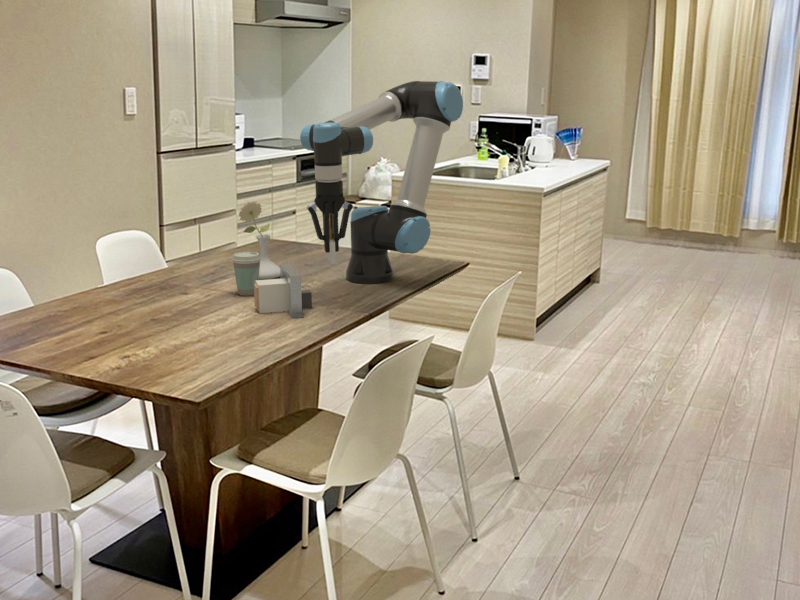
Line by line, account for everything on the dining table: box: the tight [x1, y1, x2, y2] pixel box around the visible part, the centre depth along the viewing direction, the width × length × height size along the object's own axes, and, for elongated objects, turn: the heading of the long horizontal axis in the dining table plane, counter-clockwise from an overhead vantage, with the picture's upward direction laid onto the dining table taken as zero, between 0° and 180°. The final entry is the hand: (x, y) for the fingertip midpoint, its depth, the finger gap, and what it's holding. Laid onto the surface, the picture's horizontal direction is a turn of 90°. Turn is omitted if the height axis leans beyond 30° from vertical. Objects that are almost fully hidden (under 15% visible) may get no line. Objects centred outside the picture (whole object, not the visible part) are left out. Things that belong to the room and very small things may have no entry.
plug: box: [253, 278, 313, 314], centre depth 248 cm, size 16×6×8 cm, turn 107°
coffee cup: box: [231, 251, 261, 297], centre depth 264 cm, size 8×8×12 cm
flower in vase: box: [238, 200, 280, 280], centre depth 281 cm, size 13×11×25 cm
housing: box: [279, 262, 305, 319], centre depth 249 cm, size 3×21×11 cm, turn 17°
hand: (332, 263), depth 251 cm, fingers closed
